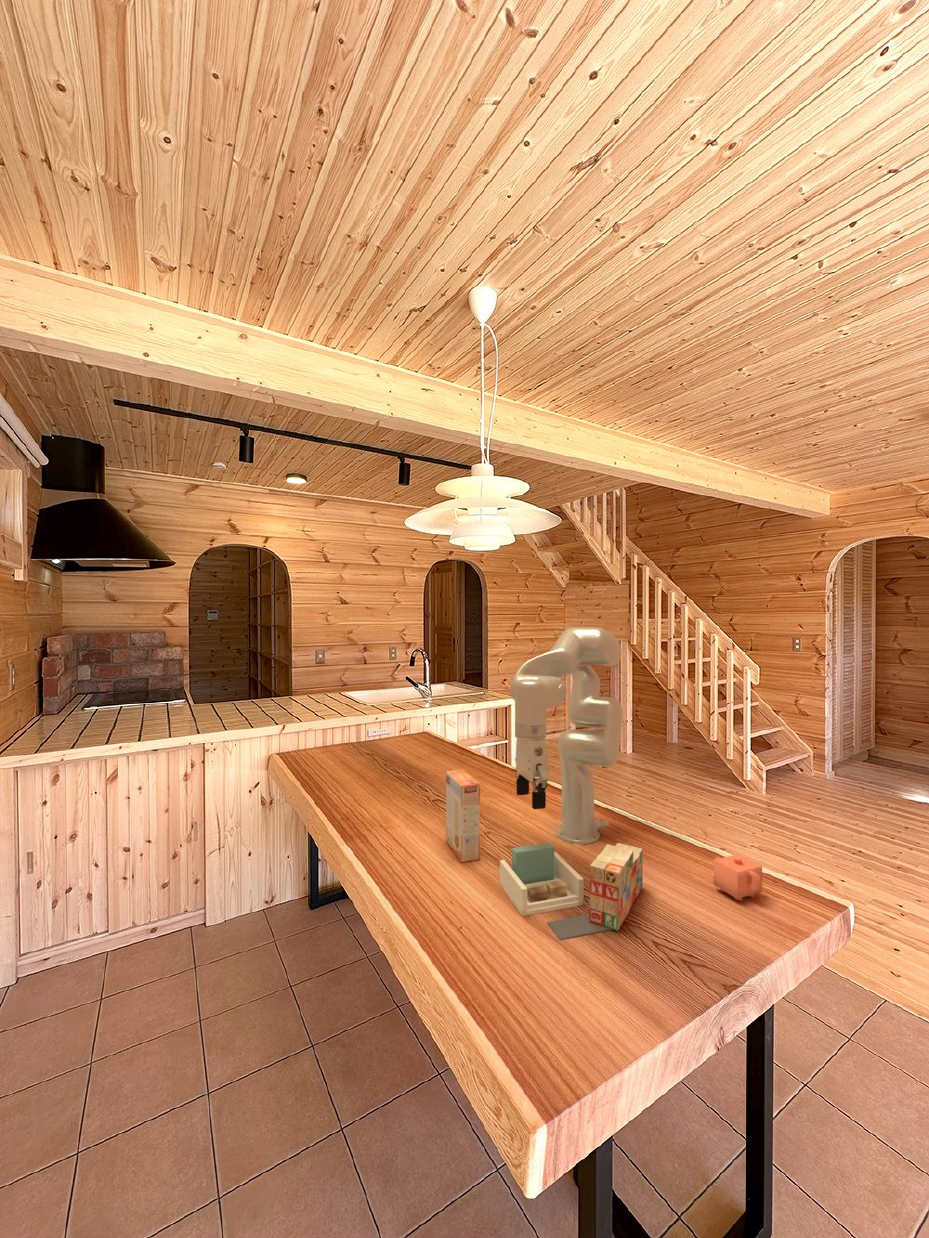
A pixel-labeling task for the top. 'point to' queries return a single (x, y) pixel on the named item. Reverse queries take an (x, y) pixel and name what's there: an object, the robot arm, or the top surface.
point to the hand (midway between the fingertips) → (530, 801)
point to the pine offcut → (556, 889)
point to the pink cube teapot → (737, 876)
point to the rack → (561, 872)
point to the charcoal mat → (575, 927)
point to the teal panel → (533, 863)
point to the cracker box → (463, 815)
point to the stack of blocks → (614, 884)
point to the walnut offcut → (537, 894)
